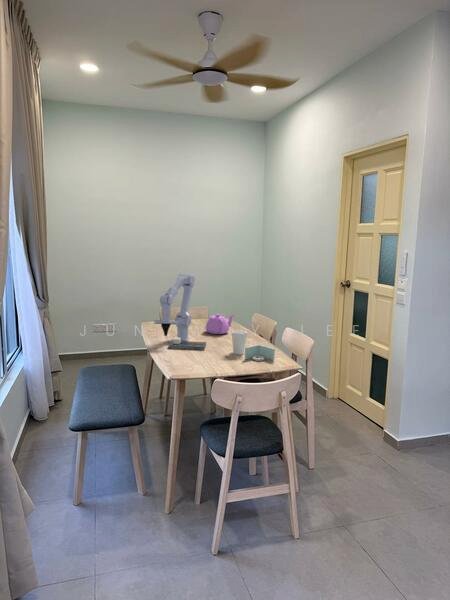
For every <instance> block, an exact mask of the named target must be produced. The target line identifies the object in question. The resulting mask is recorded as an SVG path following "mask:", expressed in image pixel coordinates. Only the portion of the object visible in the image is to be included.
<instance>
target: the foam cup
mask: <svg viewBox="0 0 450 600" xmlns="http://www.w3.org/2000/svg"><path fill="white" fill-rule="evenodd" d="M247 337H248V331H246V330H243V329H242V330H241V329H234V330H231V342H232V352H233V354H235V355H243V354H245V348H246V342H247V341H246V340H247Z"/></svg>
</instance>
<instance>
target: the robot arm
mask: <svg viewBox="0 0 450 600" xmlns="http://www.w3.org/2000/svg"><path fill="white" fill-rule="evenodd" d="M194 284H195V277H194V274H186V273H185V274H183V273H179V274H178V275H177V279H176V282H175V283H174V285H173V286H171V287H169V289H168V290H167V291H166V293H164V294H162V295H161V296H160V298H159V303H160V308H161V319H159V320H154V323H153V324H154V325H160V326H161V329H162V331H163V334H164V335H163V336H165V337H167V336H168V333H169V329H170V327H171V325H174V326H176V327H177V328H176V330H177V331H176V337H179V338H181V341H189V339H190V337H189V327H190V326H191V324H192V320H191V319H192V316H191V314H189V310H190V309H189V308H190V303H191V297H192V291H193V288H194V287H195V286H194ZM181 287H182V288H183V293H182V299H181V305H180V311H179V312H177V313H176V316H175V318H174V320H172V319H171V317H172V304H173V303H174V298H175V297H176V295H177V294H178V290H179V289H180V288H181Z"/></svg>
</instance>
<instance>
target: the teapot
mask: <svg viewBox="0 0 450 600" xmlns="http://www.w3.org/2000/svg"><path fill="white" fill-rule="evenodd" d="M234 316H235V313H234V314H231V315H230V316H229V317H228V321H227V319H226V317H225V316H222V315H221V314H220V313H215V315H211V316H210V317H209V318H208V320H207V322H206V325H205V330H206V332H207V333H209V334H211V335H224V334H226V333H228V332H229V331H230V327H231V326H232V324H233V323H232V321H233V320H232V319H233V317H234Z"/></svg>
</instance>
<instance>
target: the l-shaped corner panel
mask: <svg viewBox="0 0 450 600" xmlns="http://www.w3.org/2000/svg"><path fill="white" fill-rule="evenodd" d="M275 352H276V349H275V348H273V347H270V346H267V345H262V344H254V345H251V346H247V347H246V346H245V348H244V360H246V359H247V360H250V358H251V360H252V361H253V360H255V361H254V362H263V361H264V360H265V358H268V359H271V360H270V361H272V360H274V361H275ZM258 358H260V359H258ZM268 359H267V360H268ZM247 360H246V361H247ZM262 360H263V361H262Z"/></svg>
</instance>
